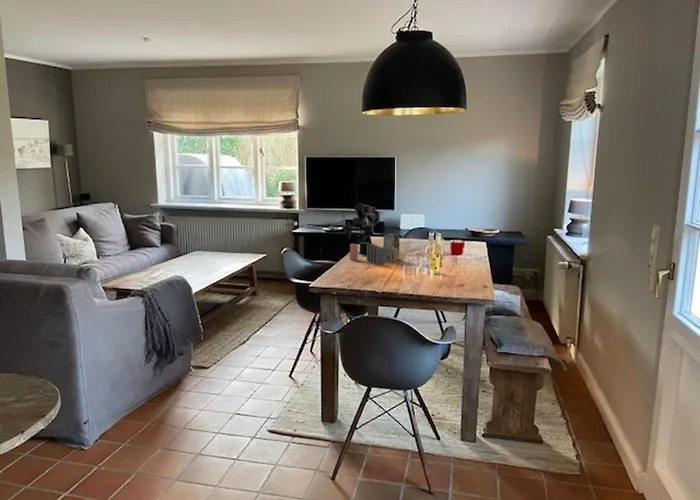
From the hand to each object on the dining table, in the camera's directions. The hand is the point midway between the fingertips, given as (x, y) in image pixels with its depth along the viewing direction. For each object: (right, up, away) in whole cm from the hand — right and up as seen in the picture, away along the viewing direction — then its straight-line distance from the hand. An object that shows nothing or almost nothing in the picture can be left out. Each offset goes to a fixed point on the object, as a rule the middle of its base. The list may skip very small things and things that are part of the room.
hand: (355, 240), depth 341 cm
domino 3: (+13, -14, -11) cm, 22 cm away
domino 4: (+14, -15, -16) cm, 26 cm away
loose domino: (-1, -12, -2) cm, 13 cm away
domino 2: (+11, -13, -7) cm, 19 cm away
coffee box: (+22, -13, -2) cm, 26 cm away
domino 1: (+9, -13, -3) cm, 16 cm away
